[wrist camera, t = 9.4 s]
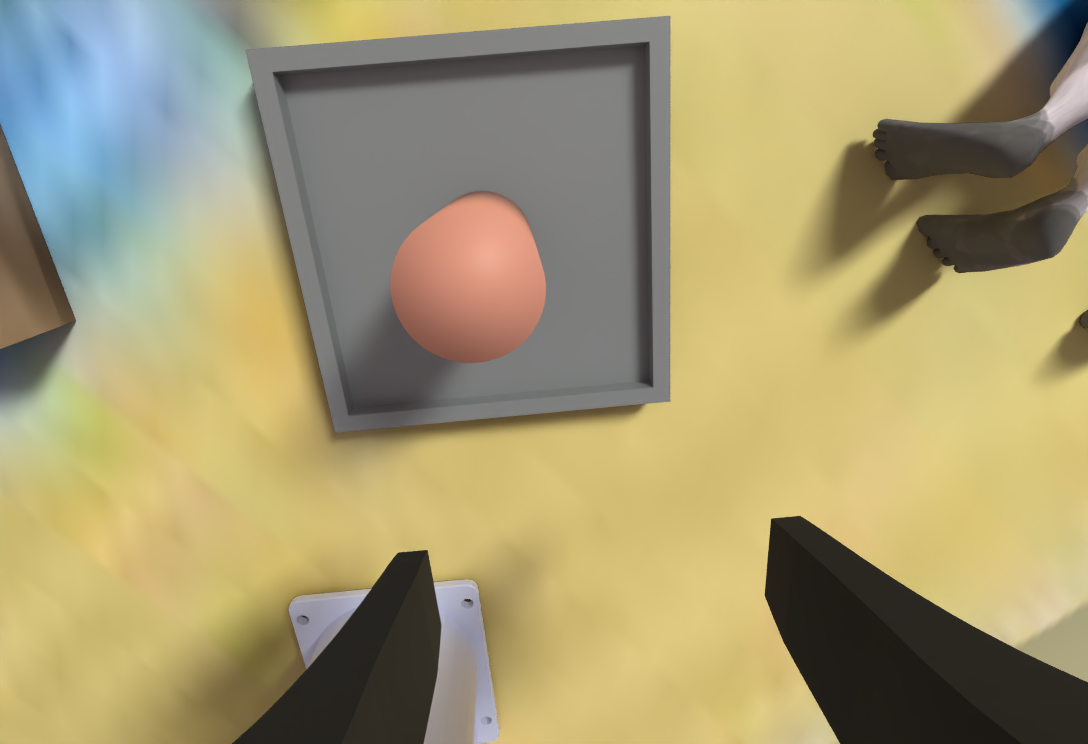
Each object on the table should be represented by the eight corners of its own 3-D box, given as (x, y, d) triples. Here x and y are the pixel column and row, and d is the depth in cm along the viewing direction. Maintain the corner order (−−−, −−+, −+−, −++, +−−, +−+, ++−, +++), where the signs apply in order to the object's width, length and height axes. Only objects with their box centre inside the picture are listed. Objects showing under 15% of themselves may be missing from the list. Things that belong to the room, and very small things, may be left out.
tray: (660, 385, 22) (670, 401, 20) (346, 414, 22) (335, 432, 20) (657, 27, 18) (670, 15, 16) (266, 58, 17) (245, 49, 16)
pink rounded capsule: (536, 285, 19) (551, 355, 12) (442, 293, 19) (404, 369, 12) (527, 186, 18) (539, 203, 11) (428, 195, 18) (377, 217, 11)
